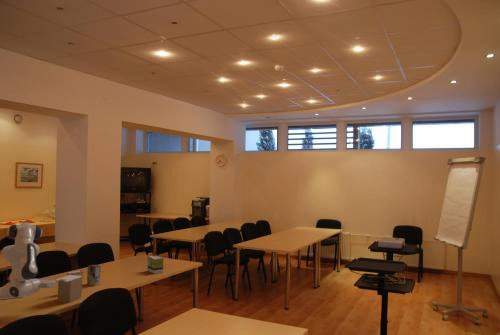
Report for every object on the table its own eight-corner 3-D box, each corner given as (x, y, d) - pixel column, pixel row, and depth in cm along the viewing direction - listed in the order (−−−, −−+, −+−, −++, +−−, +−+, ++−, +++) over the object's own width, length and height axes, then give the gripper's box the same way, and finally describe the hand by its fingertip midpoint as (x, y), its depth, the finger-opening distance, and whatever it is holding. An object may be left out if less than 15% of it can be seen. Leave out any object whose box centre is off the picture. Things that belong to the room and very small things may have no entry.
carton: (69, 302, 284) (70, 280, 285) (57, 301, 287) (58, 279, 288) (81, 297, 296) (81, 276, 296) (69, 296, 299) (69, 275, 299)
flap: (67, 282, 282) (67, 281, 282) (54, 280, 284) (54, 279, 284) (81, 276, 296) (81, 276, 296) (69, 275, 299) (69, 274, 299)
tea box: (146, 271, 384) (147, 256, 385) (156, 269, 391) (156, 255, 391) (154, 274, 373) (154, 258, 373) (163, 272, 380) (163, 257, 380)
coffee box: (100, 284, 335) (100, 265, 335) (95, 286, 329) (95, 267, 329) (92, 282, 338) (92, 264, 338) (86, 284, 332) (87, 266, 333)
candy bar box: (68, 294, 304) (69, 273, 304) (65, 293, 307) (66, 272, 308) (82, 291, 313) (82, 271, 313) (79, 290, 316) (79, 270, 316)
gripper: (46, 282, 256) (61, 277, 270) (21, 279, 262) (38, 275, 275) (46, 291, 256) (61, 286, 269) (21, 289, 262) (37, 283, 275)
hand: (49, 280), depth 272 cm, fingers closed
